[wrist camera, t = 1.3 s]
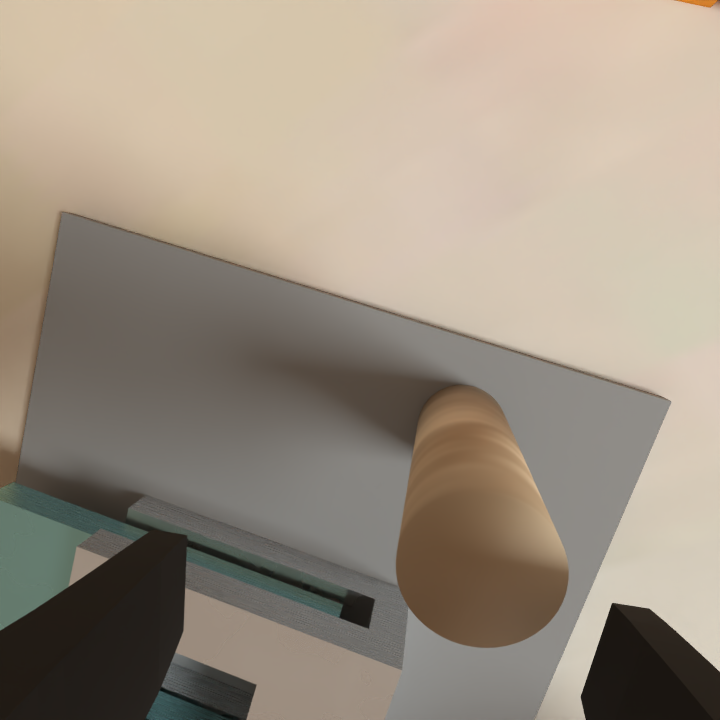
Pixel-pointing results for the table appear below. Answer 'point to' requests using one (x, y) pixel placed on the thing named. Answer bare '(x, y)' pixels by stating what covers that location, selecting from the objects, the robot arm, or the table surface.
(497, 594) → the maple pin
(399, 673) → the peg hole fixture
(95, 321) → the rubber mat
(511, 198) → the table surface
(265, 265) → the table surface
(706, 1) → the bracket
